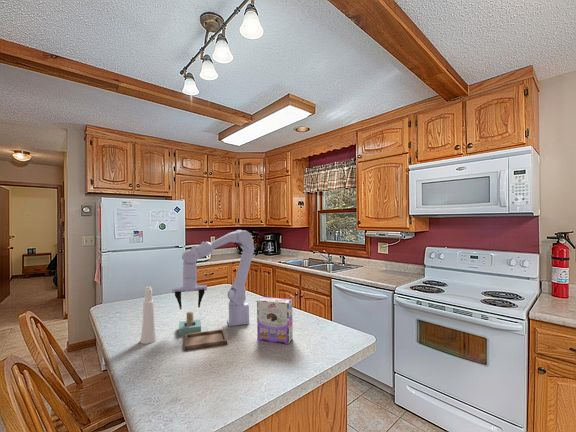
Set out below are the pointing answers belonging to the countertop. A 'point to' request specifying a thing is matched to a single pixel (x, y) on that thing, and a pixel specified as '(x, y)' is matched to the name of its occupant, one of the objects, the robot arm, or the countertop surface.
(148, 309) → the cosmetic bottle
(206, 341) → the tray
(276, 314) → the candy box
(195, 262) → the robot arm
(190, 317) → the pin
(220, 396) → the countertop surface
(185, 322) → the teal square ring
